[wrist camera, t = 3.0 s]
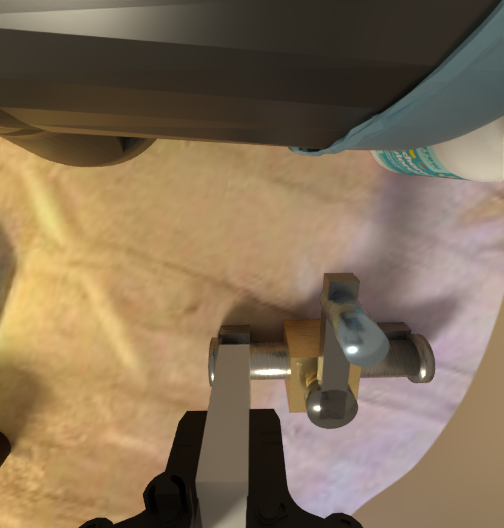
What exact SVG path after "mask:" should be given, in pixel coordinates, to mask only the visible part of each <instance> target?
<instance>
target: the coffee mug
mask: <svg viewBox="0 0 504 528" xmlns="http://www.w3.org/2000/svg"><path fill="white" fill-rule="evenodd" d="M10 451H11V445H10V442H9V440H8V439H7V437H6V436H5V435H4V434H3V433H1V432H0V467H1V465H2V464H3V462H4V461H5V459H6V458H7V456H8V455H9V453H10Z"/></svg>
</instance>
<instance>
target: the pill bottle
mask: <svg viewBox="0 0 504 528" xmlns="http://www.w3.org/2000/svg"><path fill="white" fill-rule="evenodd" d="M370 152H371V154H372V156H373V157H374V159H375V160H376V161H377V162H378V163H379V164H380V165H381V166H382V167H384V168H385V169H387V170H389V171H392V172H395V173H400V174H408V175H420V176H430V177H441V178H451V179H461V180H471V181H483V182H496V181H504V116H503V117H501V118H499V119H497V120H495V121H493V122H491V123H489V124H487V125H485V126H483V127H481V128H479V129H477V130H475V131H472V132H470V133H468V134H466V135H463V136H461V137H458V138H455V139H453V140H450V141H447V142H443V143H439V144H435V145H432V146H428V147H422V148H419V149H413V150H401V151H377V150H370Z"/></svg>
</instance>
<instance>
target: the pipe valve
mask: <svg viewBox="0 0 504 528" xmlns="http://www.w3.org/2000/svg"><path fill="white" fill-rule="evenodd" d="M376 324H377V325H378V326H379V328H380V329H381V330H382V332H383V333H384V334H385V335H386V337H387V338H388V341H389V351H388V353H387V355H386V356H385V358H384V359H383V360H382V361H380V362H379V363H377V364H375V365H373V366H369V367H359V366H356V365H353V364H352V363H350V371H349V380H348V384H349V385H350V387H351V389H352V392H353V394H354V396H355V399H356V401H357V396H358V389H359V381H360V378H382V377H407V378H408V379H409V380H410V381H411V382H413V383H429V382H430V381H431V380H432V379H433V377H434V374H435V359H434V354H433V351H432V348H431V346H430V344H429V343H428V341H427V340H426V339H425V338H424V337H423V336H422V335H420V334H411V329H410V328H409V327H408V326H407V325H406V324H405V323H404V322H399V323H376ZM320 326H321V320H284V329H283V342H253V343H250V325H242V326H221V330H220V338H212V339H211V342H210V348H209V364H208V369H209V383H210V386H211V387H212V384H213V379H214V373H215V367H216V362H217V356H218V350H219V345H239V344H249V349H250V380H270V379H285V386H286V393H287V399H288V406H289V412H290V413H292V412H307V410H306V405H305V401H304V392H305V390H306V388H307V386H308V385H309V384H310V383H311V382H312V381H314V380H316V379H317V370H318V356H319V341H320Z"/></svg>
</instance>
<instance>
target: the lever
mask: <svg viewBox="0 0 504 528" xmlns="http://www.w3.org/2000/svg"><path fill="white" fill-rule="evenodd" d="M359 283H360V281H359V280H358V279H357V278H356V276H355V275H354V274H353V273H324V282H323V291H322V293H321V295H320V304H321V306H322V311H321V326H320V341H319V356H318V370H317V379H316V380H314V381H312V382H311V383H310V384H309V385H308V386H307V388H306V390H305V392H304V401H305V405H306V410H307V414H308V417H309V419H310V420H311V422H312V423H314V424H315V425H317V426H319V427H321V428H327V429H334V428H339V427H342V426H344V425H346V424H348V423H349V422H351V421H352V420H353V419H354V417H355V416H356V414H357V411H358V404H357V401H356V399H355V396H354V394H353V392H352V389H351V387H350V385H349V384H348V380H349V371H350V363H352V364H353V365H356V366H359V367H369V366H373V365H375V364H377V363H379V362H380V361H382V360H383V359H384V358H385V356H386V355H387V353H388V351H389V341H388V338H387V337H386V335H385V334H384V333H383V332H382V330H381V329H380V328H379V326H378V325H377V324H376V322H375V321H374V320H373V319H372V317H371V316H370V315H369V313H368V312H367V311H366V309H365V308H364V307H363V306H362V304H361V303H360V302H359V300H358V292H359Z"/></svg>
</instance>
